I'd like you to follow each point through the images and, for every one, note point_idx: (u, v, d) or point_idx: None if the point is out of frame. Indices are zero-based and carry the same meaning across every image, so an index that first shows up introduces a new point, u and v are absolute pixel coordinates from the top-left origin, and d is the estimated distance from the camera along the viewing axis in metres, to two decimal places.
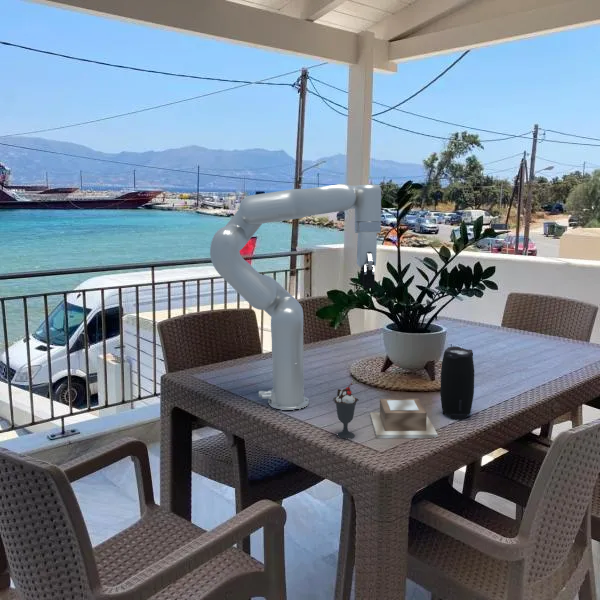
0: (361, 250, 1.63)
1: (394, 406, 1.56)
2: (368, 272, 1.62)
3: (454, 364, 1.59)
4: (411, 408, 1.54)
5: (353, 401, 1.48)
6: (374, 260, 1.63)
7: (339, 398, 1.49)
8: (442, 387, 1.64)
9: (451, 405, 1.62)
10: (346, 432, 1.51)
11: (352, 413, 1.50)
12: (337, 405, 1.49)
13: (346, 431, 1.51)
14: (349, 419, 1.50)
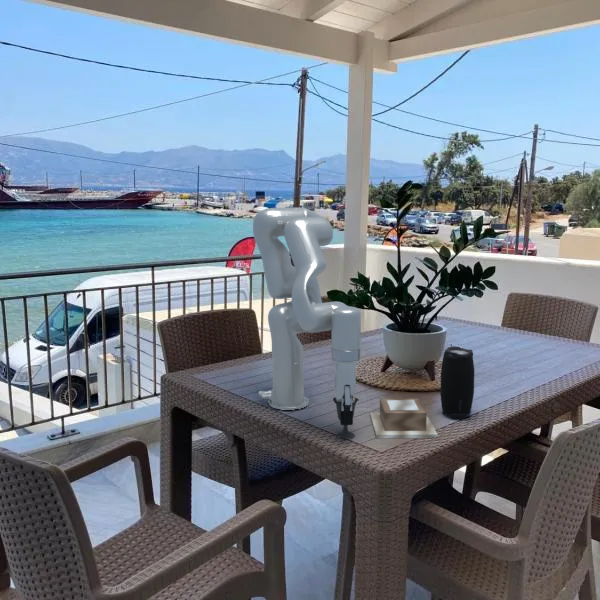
0: (338, 383, 1.45)
1: (394, 406, 1.56)
2: (345, 409, 1.46)
3: (454, 364, 1.59)
4: (411, 408, 1.54)
5: (353, 401, 1.48)
6: (352, 397, 1.46)
7: None
8: (442, 387, 1.64)
9: (451, 405, 1.62)
10: (346, 432, 1.51)
11: None
12: (337, 405, 1.49)
13: (346, 431, 1.51)
14: None
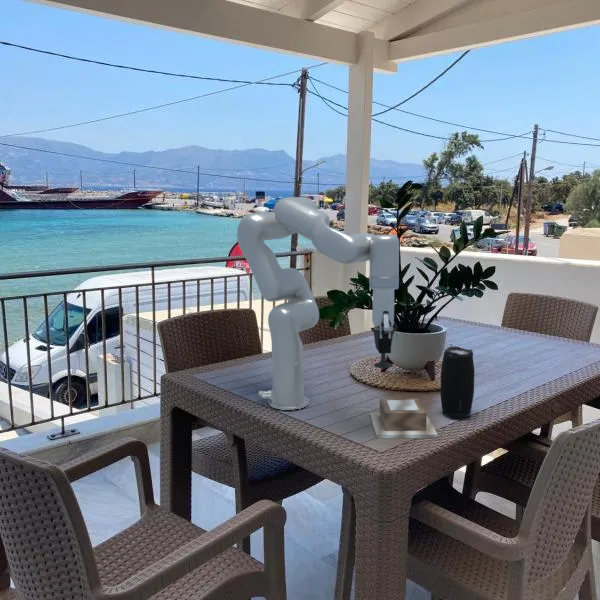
0: (377, 309, 1.45)
1: (394, 406, 1.56)
2: (384, 336, 1.47)
3: (454, 364, 1.59)
4: (411, 408, 1.54)
5: (391, 329, 1.49)
6: (391, 324, 1.46)
7: (377, 327, 1.50)
8: (442, 387, 1.64)
9: (451, 405, 1.62)
10: (384, 362, 1.52)
11: None
12: (375, 334, 1.50)
13: (384, 361, 1.52)
14: None
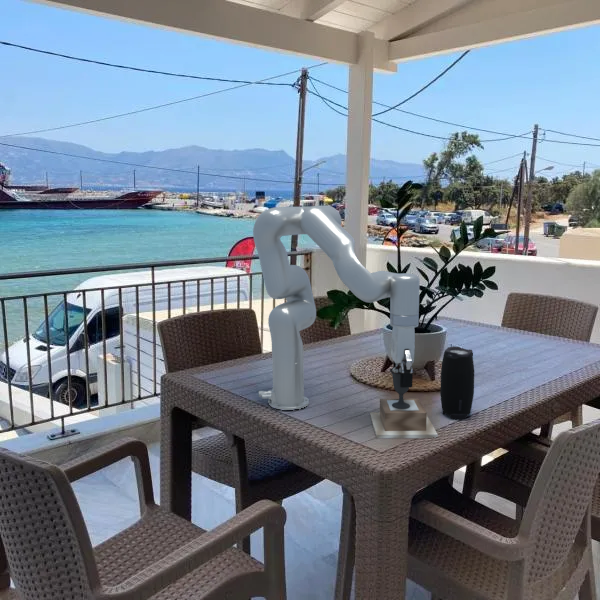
0: (398, 347, 1.49)
1: None
2: (406, 371, 1.48)
3: (454, 364, 1.59)
4: (411, 408, 1.54)
5: None
6: (412, 357, 1.49)
7: (396, 369, 1.53)
8: (442, 387, 1.64)
9: (451, 405, 1.62)
10: (402, 402, 1.55)
11: None
12: (394, 376, 1.53)
13: (402, 401, 1.55)
14: (405, 389, 1.54)
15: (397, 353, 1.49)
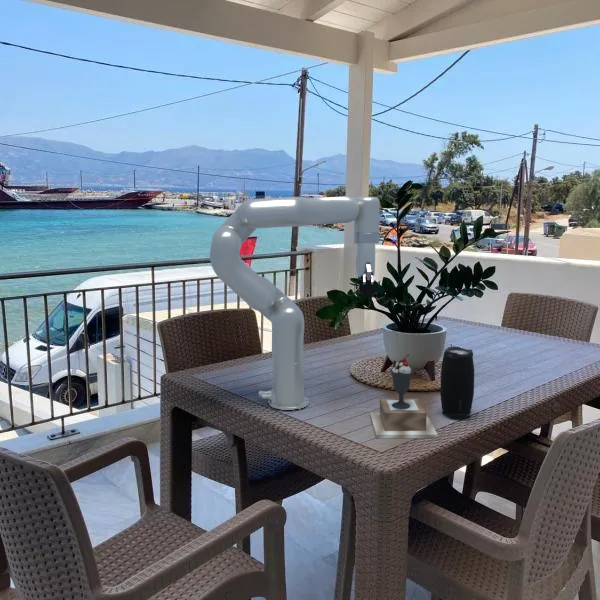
0: (360, 261, 1.67)
1: None
2: (367, 282, 1.67)
3: (454, 364, 1.59)
4: (411, 408, 1.54)
5: (410, 371, 1.52)
6: (373, 270, 1.68)
7: (396, 369, 1.53)
8: (442, 387, 1.64)
9: (451, 405, 1.62)
10: (402, 402, 1.55)
11: (408, 383, 1.54)
12: (394, 376, 1.53)
13: (402, 401, 1.55)
14: (405, 389, 1.53)
15: (359, 266, 1.68)
